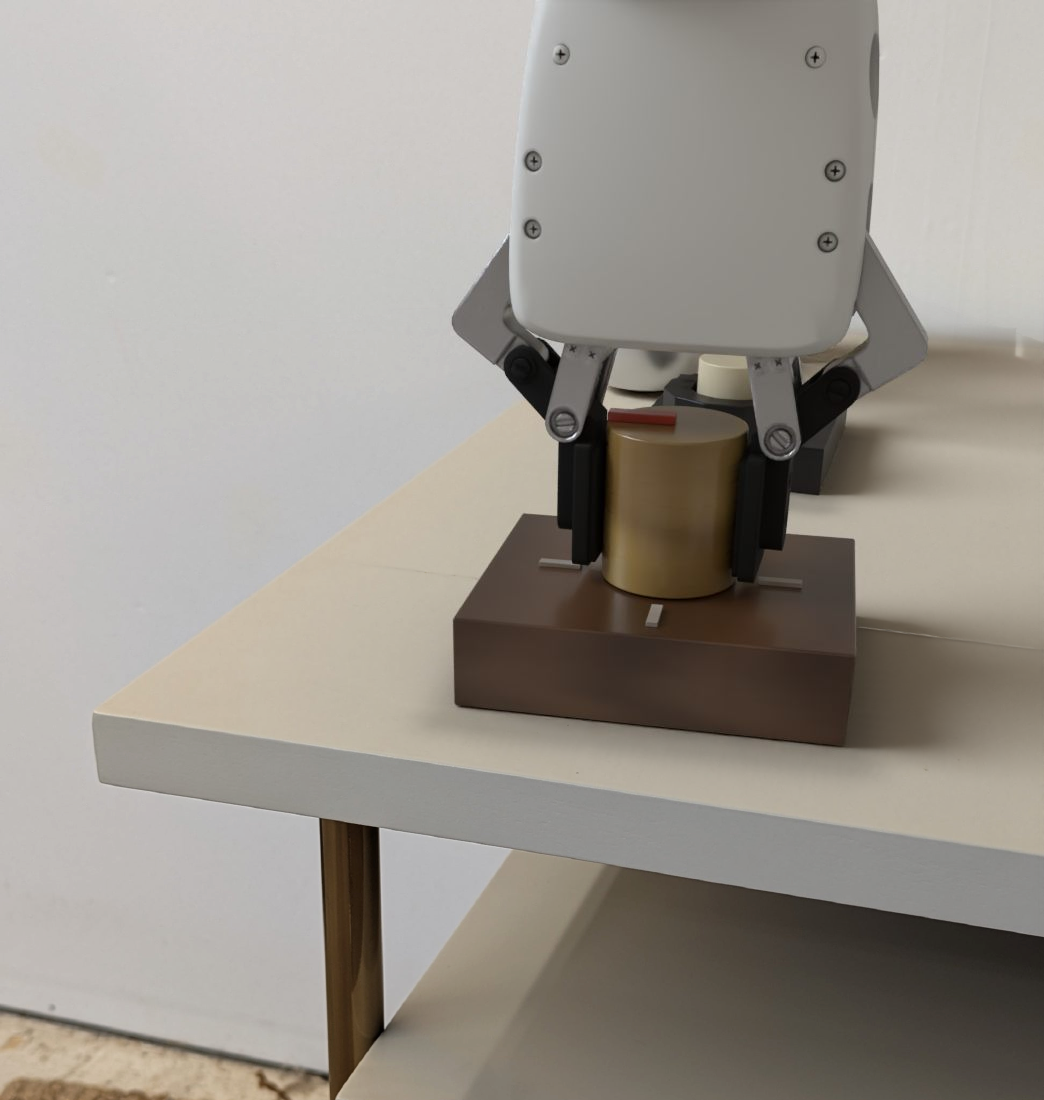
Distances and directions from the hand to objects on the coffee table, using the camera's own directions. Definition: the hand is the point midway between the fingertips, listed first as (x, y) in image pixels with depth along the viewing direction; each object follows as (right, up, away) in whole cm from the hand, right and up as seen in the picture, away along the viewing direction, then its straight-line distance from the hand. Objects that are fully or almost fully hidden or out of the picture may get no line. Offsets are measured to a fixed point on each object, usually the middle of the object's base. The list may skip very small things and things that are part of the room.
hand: (669, 553), depth 43 cm
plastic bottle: (+2, +13, +35) cm, 37 cm away
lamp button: (+5, +9, +19) cm, 22 cm away
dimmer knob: (0, -1, 0) cm, 1 cm away
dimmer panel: (0, -3, +2) cm, 4 cm away
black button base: (+6, +8, +23) cm, 25 cm away
